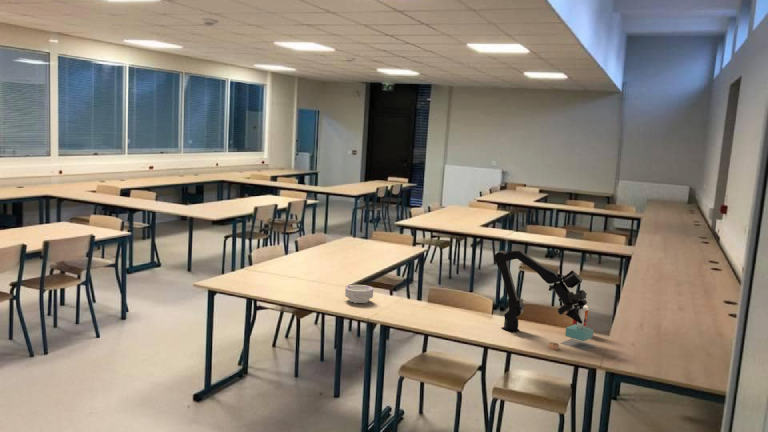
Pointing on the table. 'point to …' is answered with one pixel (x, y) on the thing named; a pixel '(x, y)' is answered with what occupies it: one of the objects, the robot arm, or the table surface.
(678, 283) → the table surface
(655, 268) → the table surface
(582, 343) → the grey mat
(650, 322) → the table surface
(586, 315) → the paper cup
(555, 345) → the terracotta bowl
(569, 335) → the teal cover
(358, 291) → the light grey bowl
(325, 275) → the table surface
